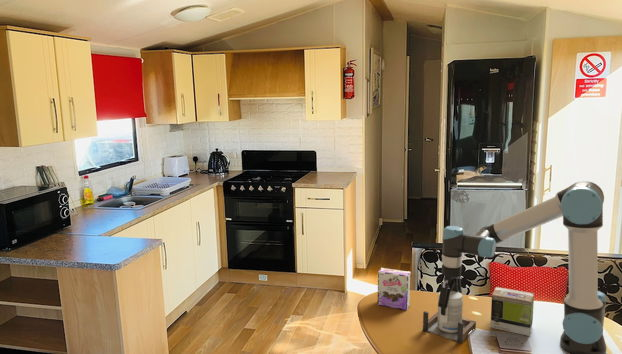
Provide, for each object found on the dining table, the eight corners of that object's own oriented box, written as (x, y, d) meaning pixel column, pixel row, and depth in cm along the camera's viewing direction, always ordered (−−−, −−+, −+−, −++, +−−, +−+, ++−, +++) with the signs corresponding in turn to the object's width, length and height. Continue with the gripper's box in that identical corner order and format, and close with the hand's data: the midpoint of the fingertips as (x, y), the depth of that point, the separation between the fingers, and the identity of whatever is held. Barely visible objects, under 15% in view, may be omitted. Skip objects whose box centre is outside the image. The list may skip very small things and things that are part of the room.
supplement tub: (466, 329, 192) (468, 295, 189) (450, 336, 186) (452, 301, 184) (447, 320, 200) (449, 287, 197) (431, 326, 194) (433, 292, 192)
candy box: (377, 305, 216) (377, 271, 213) (380, 300, 221) (380, 267, 218) (407, 310, 211) (408, 275, 208) (409, 305, 216) (410, 271, 213)
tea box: (532, 326, 195) (535, 292, 193) (529, 337, 187) (532, 302, 184) (494, 318, 203) (495, 285, 200) (489, 328, 194) (491, 294, 192)
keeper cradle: (476, 328, 194) (477, 310, 193) (461, 344, 182) (462, 324, 181) (438, 316, 204) (439, 299, 203) (421, 330, 193) (422, 312, 191)
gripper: (454, 255, 199) (452, 304, 203) (430, 271, 182) (428, 324, 186) (471, 258, 194) (469, 309, 198) (448, 275, 177) (446, 330, 181)
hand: (449, 316), depth 192 cm, fingers open, 10 cm apart
